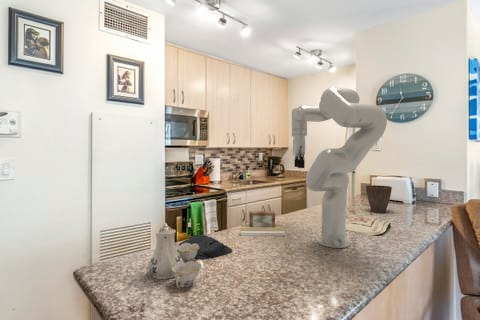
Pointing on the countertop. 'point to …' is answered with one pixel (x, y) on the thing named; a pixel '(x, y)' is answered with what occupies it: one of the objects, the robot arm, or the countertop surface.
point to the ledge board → (262, 231)
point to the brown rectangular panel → (262, 219)
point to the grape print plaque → (365, 224)
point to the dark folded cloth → (208, 247)
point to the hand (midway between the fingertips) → (299, 167)
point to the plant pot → (378, 197)
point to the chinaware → (174, 258)
